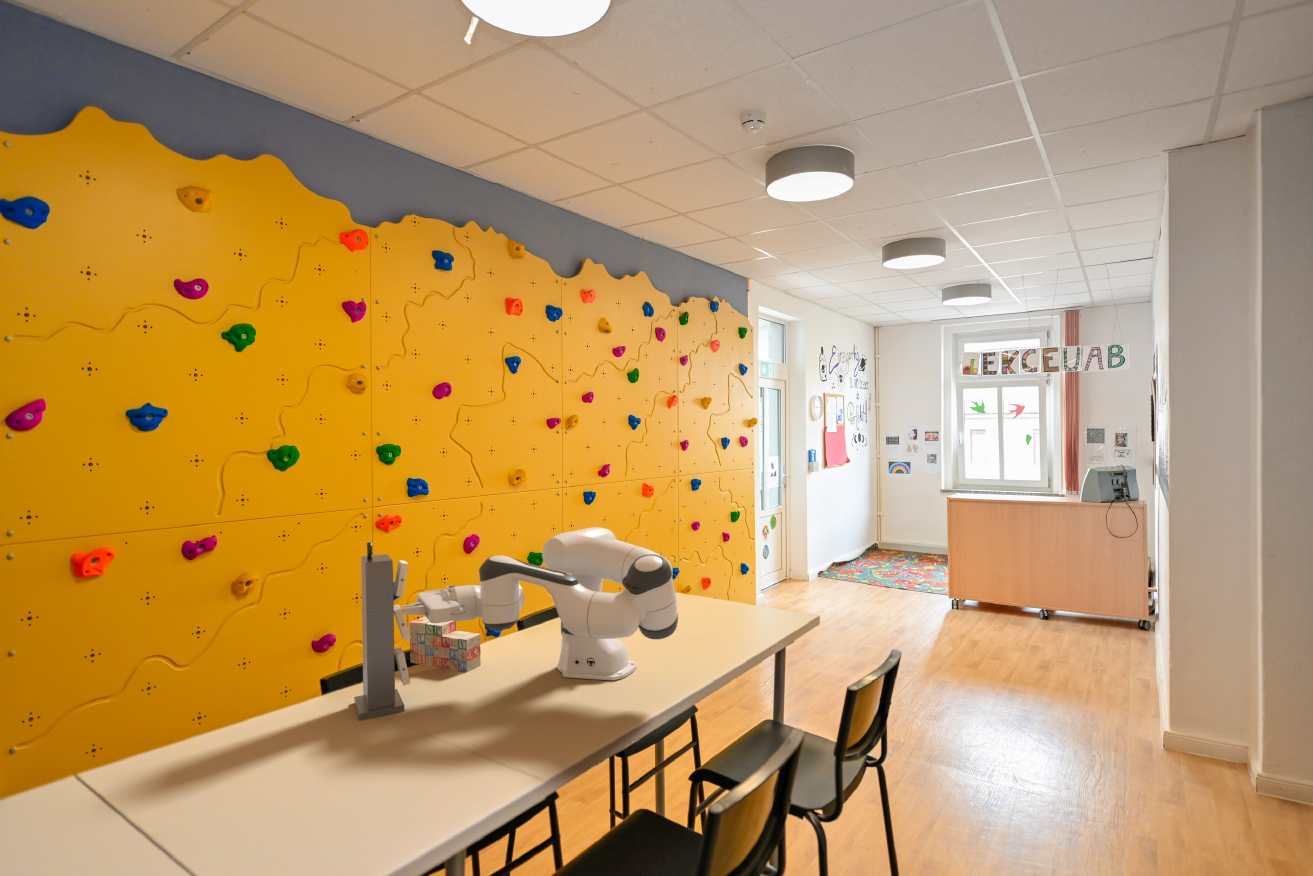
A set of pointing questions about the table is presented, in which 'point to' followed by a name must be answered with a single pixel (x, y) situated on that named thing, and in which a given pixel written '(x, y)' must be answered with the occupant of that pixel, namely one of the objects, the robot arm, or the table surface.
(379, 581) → the power strip
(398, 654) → the bottom rocker
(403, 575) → the top rocker
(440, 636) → the stack of blocks
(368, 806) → the table surface
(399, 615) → the middle rocker
